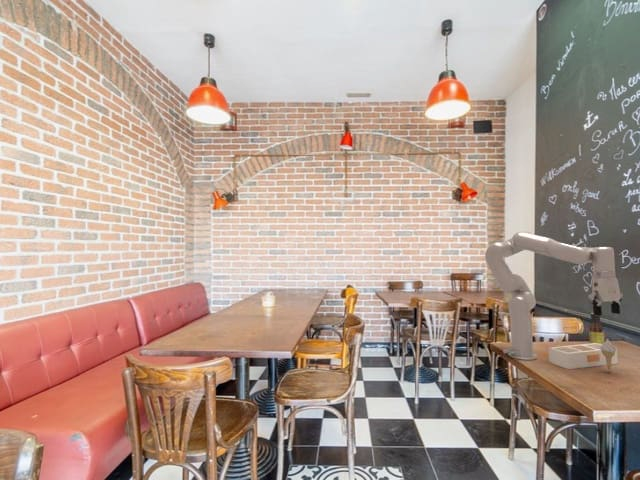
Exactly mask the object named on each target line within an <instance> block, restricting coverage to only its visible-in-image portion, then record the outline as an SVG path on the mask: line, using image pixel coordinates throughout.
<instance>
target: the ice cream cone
mask: <svg viewBox="0 0 640 480" xmlns="http://www.w3.org/2000/svg"><path fill="white" fill-rule="evenodd" d="M600 349H601V351H602V353H603V355H604V356H605V357H606V362H607V365H606V367H607V370H608V373H611V371H612V364H611V358H612V357H613V356H614V354H615V352H616V347H615V346H614V345H613V344H612V342H611V341H610V339H609V338H608V337H607V338H606V339H605V342H604V343H603V344H602V345H601V347H600Z"/></svg>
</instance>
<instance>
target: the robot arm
mask: <svg viewBox="0 0 640 480" xmlns="http://www.w3.org/2000/svg"><path fill="white" fill-rule="evenodd" d="M523 251H529V252H533V253H537V254H539V255H543V256H547V257H551V258H554V259H557V260H559V261H564V262H568V263H572V264H574V265H575V264H576V265H583V264H589V263H592V272H593V274H592V276H593V278H592V286H591V289H592V290H591V291H592V292H591V293H590V294H589V295H588V296H587V297H588V299H589V302H590V303H591V306H592V311H593V312H592V313H594V314H595V315H600V316H602V314H603V311H602V306H601V304H603V303H605V302H607V303H608V302H611V303H610V306H611V307H610V308H611V309H610V312H611V313H612V314H617V315H618V314H619V315H620V314H621V308H620V305H621V302H622V299H623V293H622V292H621V291H620V284H619V281H618V278H617V277H616V275H617V274H616V263H615V262H616V260H615V250H614V248H613V247H612V246H611V247H610V246H597V247H585V246H576V245H575V246H574V245H572V244H571V245H570V244H567V243H562V242H560V241H557V240H556V239H553V238H551V237H548V236H547V237H546V236H541V235H539V234H538V235H537V234H533V233H531V232H528V231H518V232H515V233H514V234H513V236H512V237H511V238H510V239H507V240H504V241H495V242H493V243H491V244H490V245H488V247H487V248H486V251H485V253H484V256H485V257H484V258H485V262H486V264H487V266H488V268H489V270H490V271H491V274H492V276H493V277H494V279H495V281H496V283H497V284H498V286H499V287H500V290H502V292H504V293H506V294H510V295H511V296H510V298H509V299H508V303H507V306H508V307H507V308H508V313H509V322H510V343H511V344H510V345H511V346H509V348H508V349H503V350H502V351H503V354H508V356H509V357H511V358H513V359H517V360H521V361H533V360H536V359H538V355H537V354H536V353H534V344H533V341H534V340H533V339H534V338H533V323H532V315H531V310H533V309H534V308H536V305H537V302H536V301H537V299H536V297H535V295H534V294H533V292H532V291H531V289H530V288H529V286H528V284H527V282H526V281H525V280H524V279H523V277H522V276H520V275H519V274H515V273H513V272H512V270H511V269H510V267H509V265H508V264H507V262H506V261H505V260H504V258H509V257H512V256H514V255H516V254H519V253H521V252H523ZM602 302H603V303H602Z"/></svg>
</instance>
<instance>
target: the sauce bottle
mask: <svg viewBox="0 0 640 480" xmlns="http://www.w3.org/2000/svg"><path fill="white" fill-rule="evenodd" d="M589 314H590V315H589V316H590V321H591V322H590V324H589V325H588V328H589V331H588V333H589V344H591V343H598V344H601V345H602V344H603V343H604V342H605V341H606V336H605V328H604V326H603V324H602V321H601V315H595V314H594V313H593V312H590V313H589Z"/></svg>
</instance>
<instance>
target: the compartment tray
mask: <svg viewBox="0 0 640 480" xmlns="http://www.w3.org/2000/svg"><path fill="white" fill-rule="evenodd" d="M600 347H601V344H598V343H591V344H590V343H582V344H574V345H565V346H563V345H562V346H554V347H553V346H552V347H548V356H549V357H548V361H549V363H551V364H553V365H556V366H558V367H561V368H564V369H566V370H575V369H582V368H590V367H599V366H607V362H606V357H605V356H604V355H603V353H602V351H601V349H600ZM615 348H616V347H615ZM618 361H619V360H618V348H616V352H615V354H614V356H613V357H612V358H611V365H618Z"/></svg>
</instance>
